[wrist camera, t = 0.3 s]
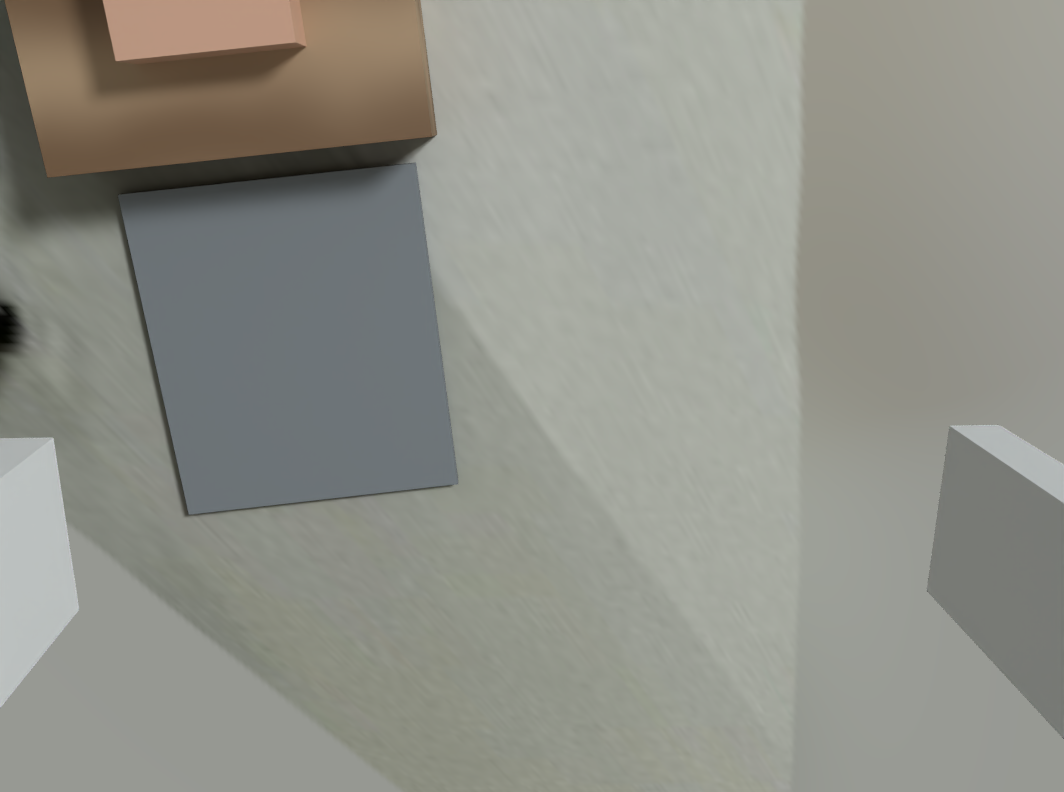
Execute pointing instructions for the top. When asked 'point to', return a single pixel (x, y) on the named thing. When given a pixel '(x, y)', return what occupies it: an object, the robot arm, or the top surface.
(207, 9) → the tile
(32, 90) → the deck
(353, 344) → the mat
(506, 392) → the top surface
